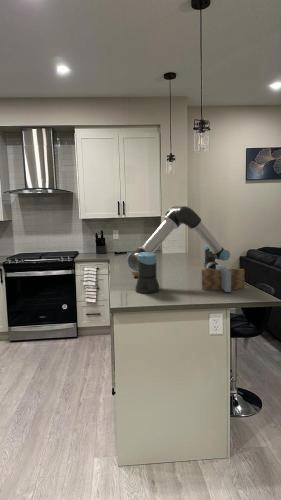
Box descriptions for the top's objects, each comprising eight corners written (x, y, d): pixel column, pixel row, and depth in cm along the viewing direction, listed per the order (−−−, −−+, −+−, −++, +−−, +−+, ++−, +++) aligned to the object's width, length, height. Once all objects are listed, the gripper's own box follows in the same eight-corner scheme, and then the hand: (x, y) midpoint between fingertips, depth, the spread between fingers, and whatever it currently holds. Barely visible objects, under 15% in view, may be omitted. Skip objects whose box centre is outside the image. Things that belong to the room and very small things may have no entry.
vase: (128, 277, 233) (128, 252, 231) (135, 274, 243) (135, 250, 240) (141, 278, 228) (140, 252, 226) (147, 275, 238) (147, 251, 235)
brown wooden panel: (202, 289, 194) (202, 270, 192) (201, 288, 197) (201, 269, 195) (244, 288, 194) (244, 269, 192) (242, 287, 197) (243, 268, 195)
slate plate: (230, 291, 183) (231, 271, 182) (225, 291, 183) (226, 271, 182) (220, 282, 207) (220, 264, 205) (215, 282, 207) (215, 264, 205)
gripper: (224, 273, 220) (234, 280, 197) (201, 273, 220) (209, 281, 197) (224, 262, 219) (234, 269, 196) (201, 263, 219) (209, 269, 196)
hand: (221, 275), depth 197 cm, fingers closed on slate plate, 3 cm apart
